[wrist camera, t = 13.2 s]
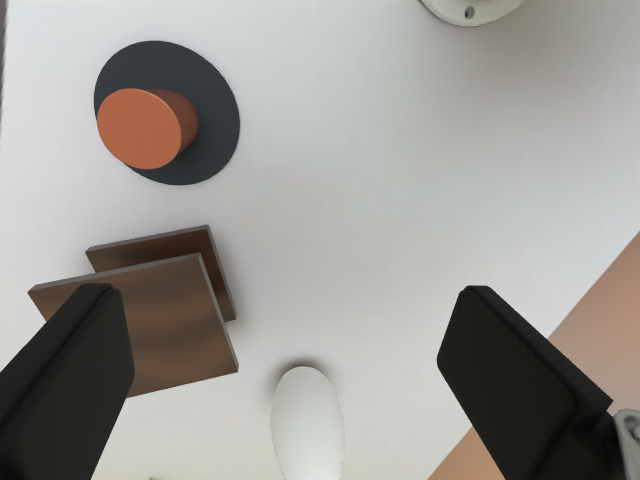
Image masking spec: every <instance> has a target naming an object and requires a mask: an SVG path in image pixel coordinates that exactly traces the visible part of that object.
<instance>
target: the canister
mask: <svg viewBox="0 0 640 480" xmlns="http://www.w3.org/2000/svg"><path fill="white" fill-rule="evenodd" d="M97 125H98V131H99V134H100V137H101V139H102V141H103V143H104V145H105V146H106V147H107V149H108V150H109V151H110V152H111V153H112V154H113V155H114V156H115V157H116V158H118V159H119V160H120V161H122V162H124V163H125V164H128V165H130V166H133V167H136V168H140V169H155V168H159V167H162V166H164V165H166V164H167V163H169V162H170V161H171V160H173V159H174V158H175V157H176V156H177V155H179V154H180V153H181V152H182V151H183V150H185V149H186V148H187V147H188V146H189V145H190V144H192V143H193V141H194V140H195V138H196V137H197V134H198V131H199V119H198V115H197V112H196V110H195V108H194V106H193V105H192V104H191V102H190V101H189V100H188V99H187V98H186V97H185V96H183V95H182V94H180V93H178V92H177V91H174V90H171V89H166V88H131V89H122V90H119V91H116V92H114V93H112V94H111V95H109V96H108V97H107V98H106V99H105V100H104V101H103V103H102V104H101V106H100V108H99V112H98V117H97Z"/></svg>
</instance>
